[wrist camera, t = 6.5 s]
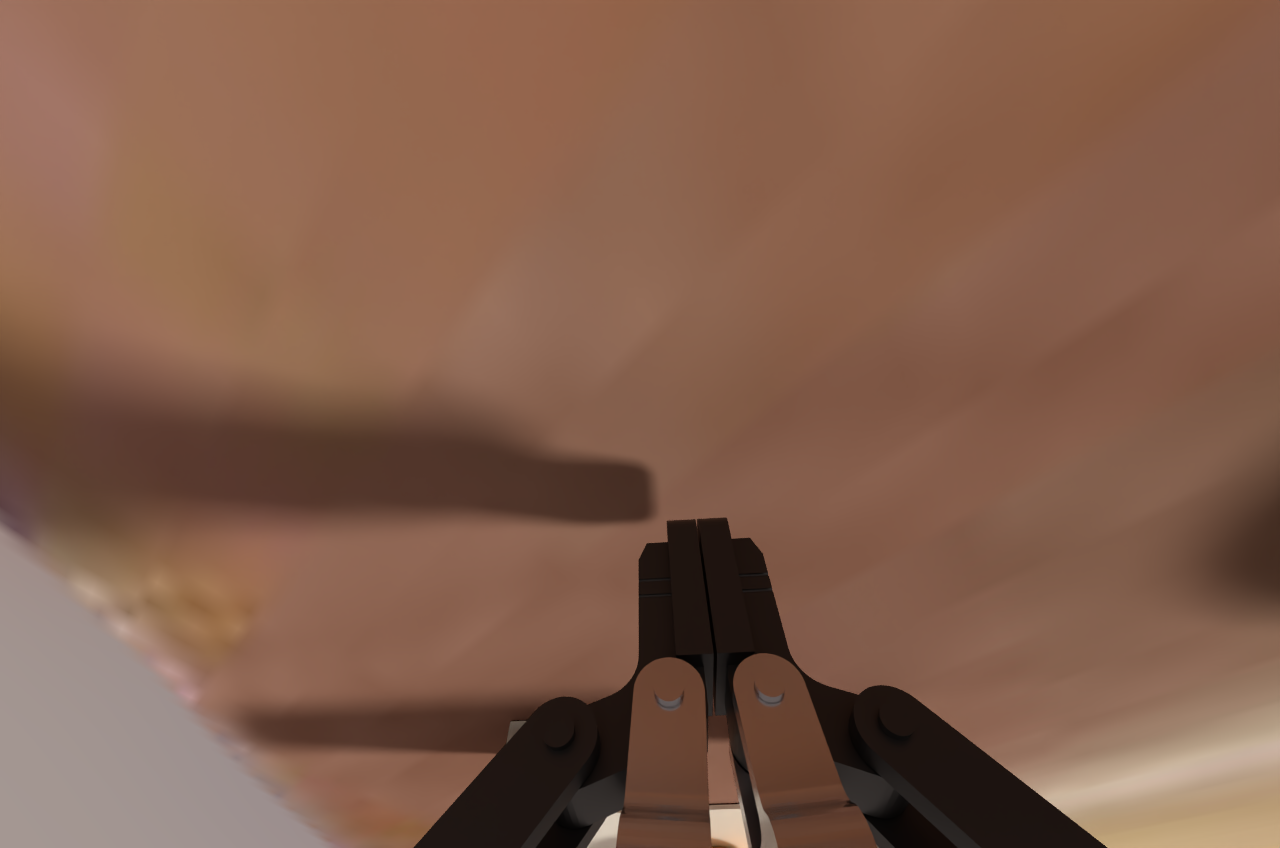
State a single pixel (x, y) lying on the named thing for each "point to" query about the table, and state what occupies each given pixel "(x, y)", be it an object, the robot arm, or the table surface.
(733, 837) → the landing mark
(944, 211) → the table surface
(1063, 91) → the table surface
